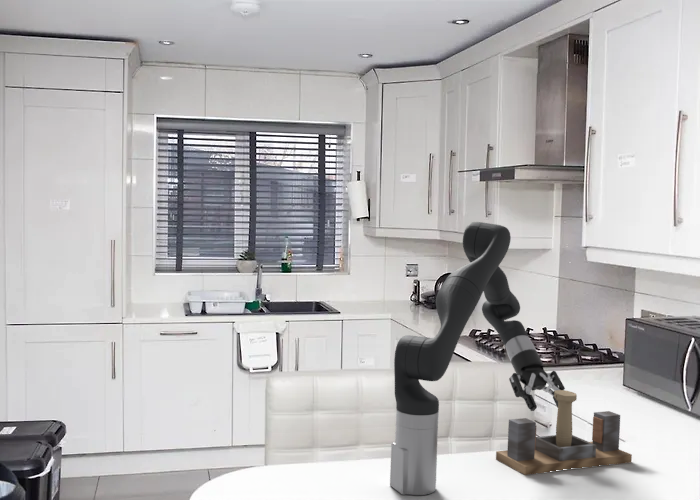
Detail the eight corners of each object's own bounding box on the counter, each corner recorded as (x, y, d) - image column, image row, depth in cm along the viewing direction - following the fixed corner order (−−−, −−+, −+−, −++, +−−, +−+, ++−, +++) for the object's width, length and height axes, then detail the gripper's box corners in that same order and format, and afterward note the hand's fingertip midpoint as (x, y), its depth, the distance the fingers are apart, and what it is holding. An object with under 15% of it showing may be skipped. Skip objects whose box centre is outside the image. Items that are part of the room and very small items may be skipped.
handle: (566, 448, 188) (568, 390, 187) (578, 456, 182) (580, 395, 181) (548, 449, 187) (550, 390, 187) (560, 457, 181) (562, 396, 180)
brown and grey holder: (524, 475, 173) (526, 428, 172) (495, 459, 184) (497, 415, 183) (631, 462, 185) (633, 418, 184) (598, 448, 196) (600, 407, 196)
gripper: (507, 349, 196) (531, 402, 185) (551, 347, 201) (577, 398, 191) (495, 365, 201) (518, 417, 191) (538, 362, 206) (563, 414, 196)
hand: (548, 408), depth 191 cm, fingers open, 8 cm apart
